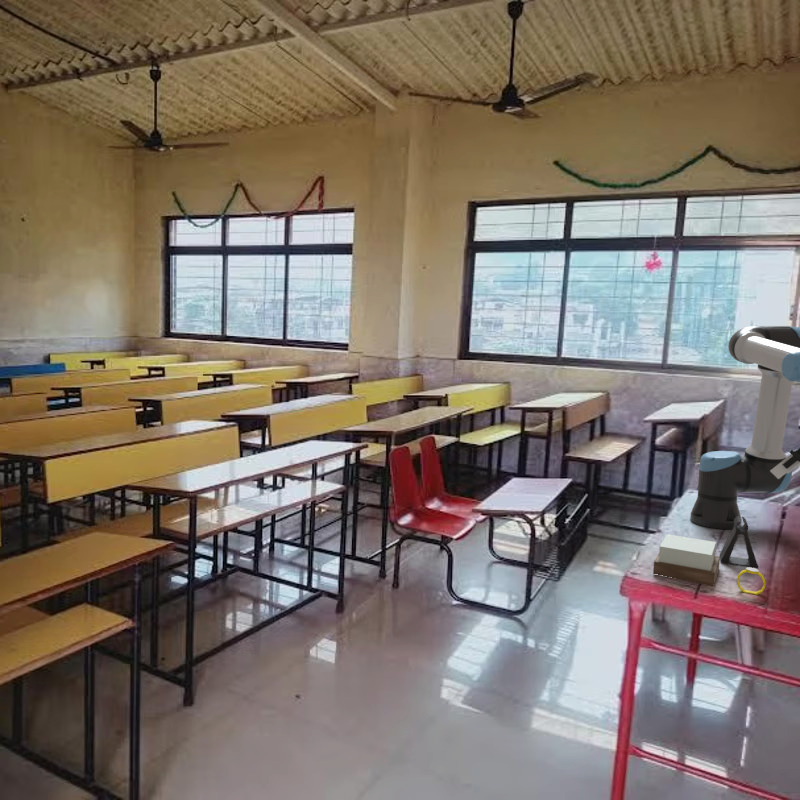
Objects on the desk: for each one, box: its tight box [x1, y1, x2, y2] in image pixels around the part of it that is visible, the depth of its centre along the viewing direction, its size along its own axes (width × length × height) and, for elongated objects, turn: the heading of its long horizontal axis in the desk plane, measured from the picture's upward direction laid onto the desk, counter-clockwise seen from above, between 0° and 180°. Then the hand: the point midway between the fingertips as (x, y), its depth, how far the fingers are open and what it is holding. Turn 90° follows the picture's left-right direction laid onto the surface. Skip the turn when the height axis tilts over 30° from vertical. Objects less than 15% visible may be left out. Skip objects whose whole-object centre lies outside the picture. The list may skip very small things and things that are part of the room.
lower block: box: [652, 553, 720, 587], centre depth 169 cm, size 14×14×4 cm
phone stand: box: [718, 516, 759, 569], centre depth 176 cm, size 9×6×12 cm, turn 66°
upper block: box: [658, 533, 717, 571], centre depth 168 cm, size 12×12×4 cm
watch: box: [736, 567, 766, 596], centre depth 155 cm, size 6×3×6 cm, turn 61°
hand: (779, 472), depth 169 cm, fingers open, 13 cm apart
